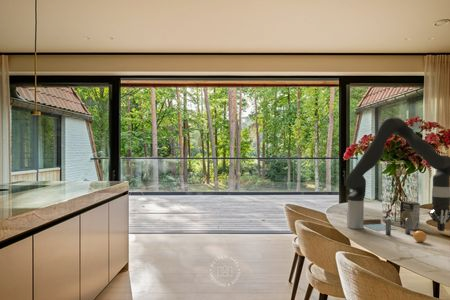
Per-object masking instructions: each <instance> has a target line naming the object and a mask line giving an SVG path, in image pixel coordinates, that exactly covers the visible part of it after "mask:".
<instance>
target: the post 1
mask: <svg viewBox="0 0 450 300" xmlns="http://www.w3.org/2000/svg"><path fill="white" fill-rule="evenodd" d="M385 226H386V230H385V236H392V234H391V232H392V230H391V228H392V219H390V218H385Z"/></svg>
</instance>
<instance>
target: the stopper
mask: <svg viewBox="0 0 450 300" xmlns="http://www.w3.org/2000/svg"><path fill="white" fill-rule="evenodd" d="M373 224H382V219H381V218H370V219H369V218H368V219H367V218H365V219H364V223H363V225H373Z"/></svg>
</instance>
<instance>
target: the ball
mask: <svg viewBox="0 0 450 300" xmlns="http://www.w3.org/2000/svg"><path fill="white" fill-rule="evenodd" d="M412 237H413V239H414V240H415V241H416V242H417V243H424V242H426V240H427V234H426V233H425V232H424V231H423V230H416V231H414V232H413V236H412Z"/></svg>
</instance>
